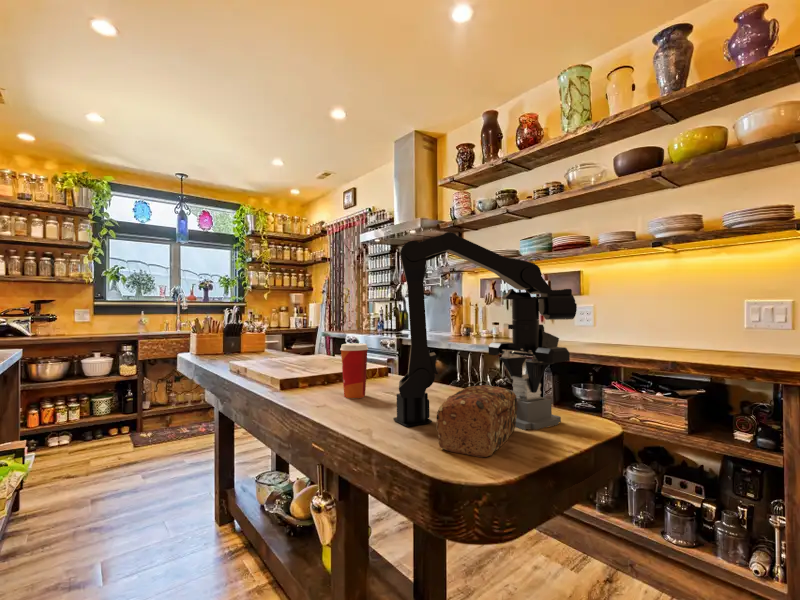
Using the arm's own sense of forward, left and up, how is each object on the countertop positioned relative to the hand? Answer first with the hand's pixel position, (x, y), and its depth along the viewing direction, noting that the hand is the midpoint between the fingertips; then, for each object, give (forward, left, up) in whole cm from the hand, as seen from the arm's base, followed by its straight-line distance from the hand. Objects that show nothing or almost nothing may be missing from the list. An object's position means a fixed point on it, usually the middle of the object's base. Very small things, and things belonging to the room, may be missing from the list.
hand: (526, 390), depth 88 cm
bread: (-17, -4, -7) cm, 19 cm away
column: (0, 0, -6) cm, 6 cm away
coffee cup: (-23, +43, -7) cm, 50 cm away
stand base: (0, 0, -7) cm, 7 cm away
